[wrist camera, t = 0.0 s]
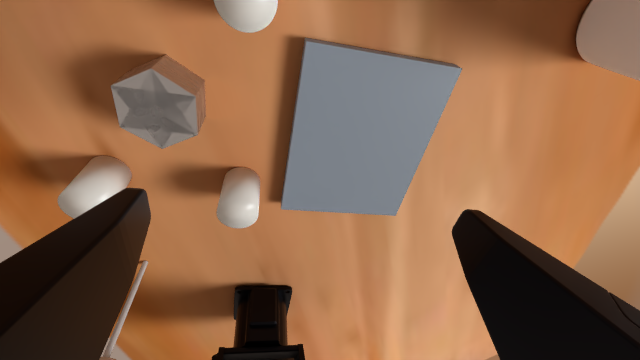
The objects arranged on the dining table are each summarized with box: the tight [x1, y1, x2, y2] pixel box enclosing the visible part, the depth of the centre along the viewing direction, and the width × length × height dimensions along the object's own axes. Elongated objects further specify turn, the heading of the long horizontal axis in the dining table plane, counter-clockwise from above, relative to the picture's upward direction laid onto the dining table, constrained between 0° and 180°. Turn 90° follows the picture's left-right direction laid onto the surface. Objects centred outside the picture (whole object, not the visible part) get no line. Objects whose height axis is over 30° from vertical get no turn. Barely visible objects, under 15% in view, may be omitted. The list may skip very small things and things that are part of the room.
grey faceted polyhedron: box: [111, 55, 206, 149], centre depth 19 cm, size 5×4×3 cm
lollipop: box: [99, 261, 148, 360], centre depth 24 cm, size 6×6×15 cm
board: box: [281, 38, 462, 216], centre depth 24 cm, size 14×11×1 cm
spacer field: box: [58, 0, 278, 228], centre depth 19 cm, size 17×13×4 cm
